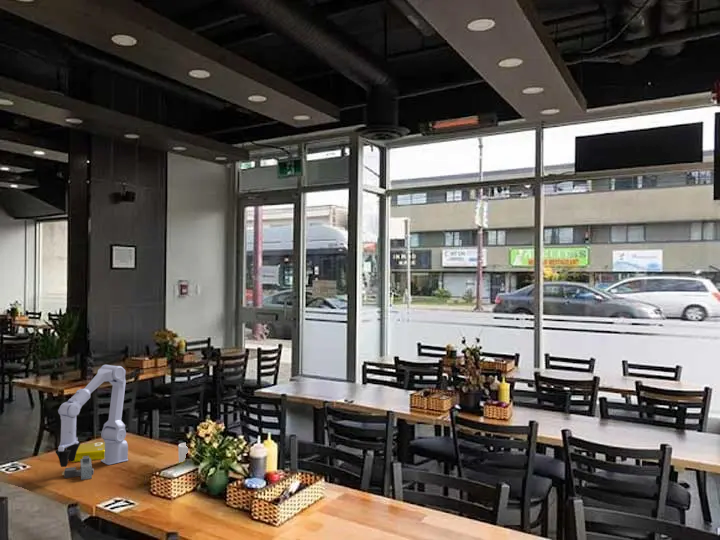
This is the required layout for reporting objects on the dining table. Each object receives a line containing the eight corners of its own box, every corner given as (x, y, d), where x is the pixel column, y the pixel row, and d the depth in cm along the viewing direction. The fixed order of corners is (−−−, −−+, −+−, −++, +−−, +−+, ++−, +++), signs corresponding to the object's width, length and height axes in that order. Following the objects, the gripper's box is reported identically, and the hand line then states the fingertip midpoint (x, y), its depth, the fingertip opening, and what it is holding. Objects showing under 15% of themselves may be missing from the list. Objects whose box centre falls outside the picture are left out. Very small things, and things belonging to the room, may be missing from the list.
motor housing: (90, 469, 256) (90, 455, 256) (91, 478, 245) (92, 463, 245) (80, 471, 254) (80, 456, 254) (81, 479, 243) (81, 464, 243)
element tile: (71, 454, 279) (71, 443, 279) (105, 450, 285) (105, 440, 285) (70, 463, 265) (70, 452, 265) (106, 459, 271) (106, 449, 272)
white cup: (185, 471, 256) (185, 448, 256) (174, 467, 261) (174, 444, 261) (199, 466, 262) (200, 444, 262) (188, 463, 267) (189, 441, 267)
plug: (93, 472, 253) (93, 465, 253) (93, 475, 249) (93, 468, 249) (62, 475, 248) (63, 468, 249) (61, 478, 245) (61, 471, 245)
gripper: (71, 435, 239) (70, 469, 239) (85, 426, 254) (84, 458, 254) (53, 435, 239) (52, 469, 239) (68, 426, 253) (67, 458, 253)
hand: (67, 463), depth 246 cm, fingers open, 7 cm apart
